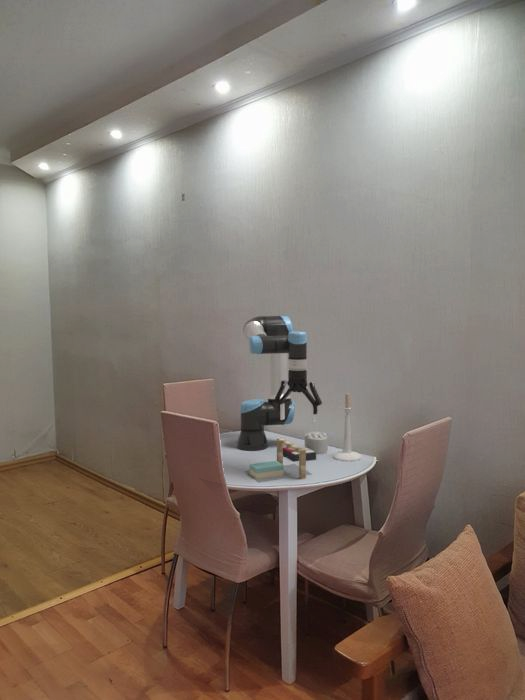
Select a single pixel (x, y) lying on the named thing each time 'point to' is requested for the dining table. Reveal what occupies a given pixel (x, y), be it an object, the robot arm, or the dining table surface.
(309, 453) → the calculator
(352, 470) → the dining table surface
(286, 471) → the mat
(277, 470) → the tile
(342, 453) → the candlestick
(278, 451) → the rail
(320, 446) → the lumpy-topped squat cylinder
